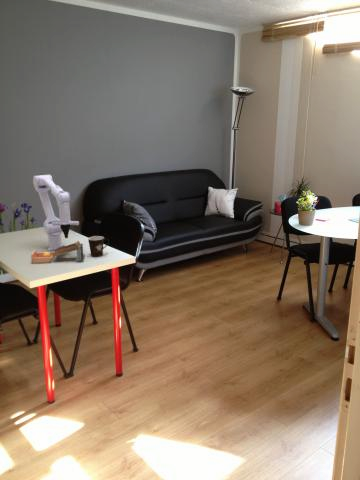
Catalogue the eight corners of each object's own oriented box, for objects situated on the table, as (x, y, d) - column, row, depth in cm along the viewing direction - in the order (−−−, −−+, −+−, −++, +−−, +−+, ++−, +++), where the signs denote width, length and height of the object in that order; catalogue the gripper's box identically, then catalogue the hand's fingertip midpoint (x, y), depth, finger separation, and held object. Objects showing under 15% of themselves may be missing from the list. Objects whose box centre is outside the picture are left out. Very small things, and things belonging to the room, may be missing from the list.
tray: (35, 257, 243) (34, 249, 241) (54, 257, 244) (53, 248, 242) (31, 263, 233) (30, 254, 232) (51, 263, 234) (50, 254, 233)
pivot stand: (77, 256, 246) (77, 243, 244) (85, 255, 246) (84, 243, 244) (75, 262, 235) (74, 249, 233) (83, 262, 235) (82, 249, 233)
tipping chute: (57, 249, 249) (55, 244, 248) (83, 241, 249) (81, 236, 248) (53, 257, 235) (51, 252, 234) (80, 249, 235) (78, 243, 234)
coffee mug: (89, 258, 242) (88, 240, 239) (89, 253, 250) (88, 236, 248) (110, 256, 244) (109, 239, 242) (109, 252, 252) (108, 235, 250)
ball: (52, 253, 240) (49, 259, 241) (45, 249, 239) (42, 256, 240) (51, 255, 236) (48, 261, 237) (44, 252, 235) (41, 258, 236)
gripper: (49, 216, 238) (52, 240, 242) (77, 215, 239) (78, 239, 243) (52, 213, 245) (54, 236, 248) (78, 212, 246) (80, 235, 250)
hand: (66, 237), depth 246 cm, fingers closed
